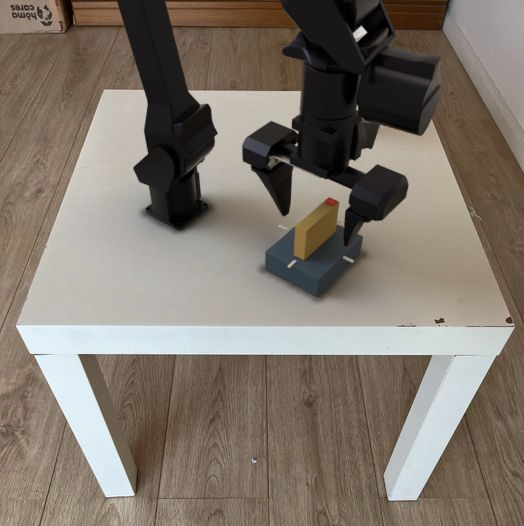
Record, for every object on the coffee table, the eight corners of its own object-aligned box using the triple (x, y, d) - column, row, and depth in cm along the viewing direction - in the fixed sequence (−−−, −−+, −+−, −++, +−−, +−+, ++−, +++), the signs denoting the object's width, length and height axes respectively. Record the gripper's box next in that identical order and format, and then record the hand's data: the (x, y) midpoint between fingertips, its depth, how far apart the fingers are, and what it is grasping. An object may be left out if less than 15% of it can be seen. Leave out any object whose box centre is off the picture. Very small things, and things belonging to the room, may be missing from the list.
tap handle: (304, 260, 70) (306, 229, 67) (293, 255, 71) (295, 224, 67) (335, 231, 74) (340, 200, 70) (325, 226, 75) (328, 195, 71)
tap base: (325, 305, 70) (327, 286, 67) (252, 266, 74) (251, 247, 72) (373, 256, 76) (377, 237, 73) (302, 223, 80) (304, 204, 77)
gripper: (448, 104, 59) (416, 226, 71) (299, 52, 67) (292, 172, 79) (393, 151, 54) (368, 275, 66) (237, 89, 61) (240, 212, 73)
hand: (315, 229), depth 71 cm, fingers open, 9 cm apart
